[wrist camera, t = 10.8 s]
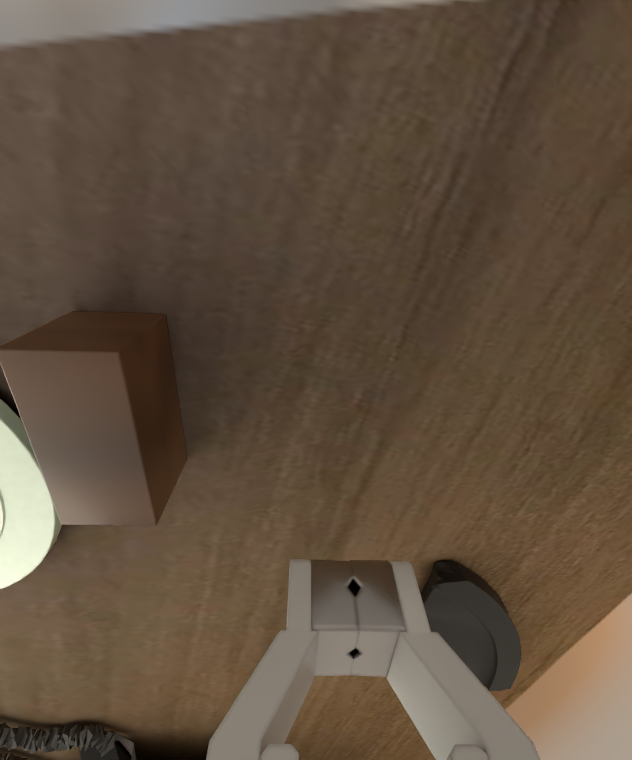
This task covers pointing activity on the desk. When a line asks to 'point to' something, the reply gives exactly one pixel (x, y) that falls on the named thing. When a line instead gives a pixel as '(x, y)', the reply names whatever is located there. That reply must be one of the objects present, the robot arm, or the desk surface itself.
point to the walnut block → (100, 414)
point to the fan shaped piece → (473, 624)
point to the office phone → (66, 742)
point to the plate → (22, 503)
